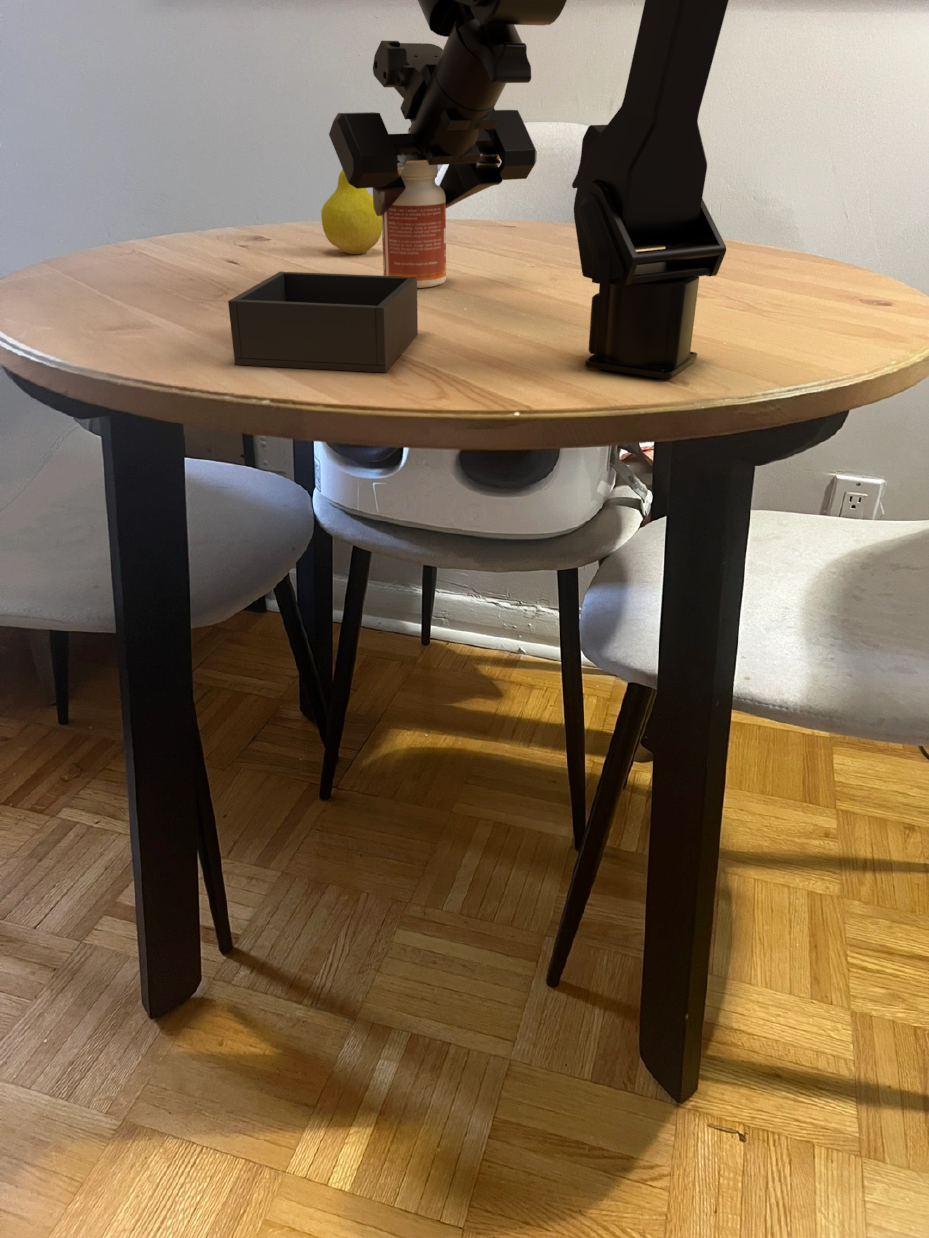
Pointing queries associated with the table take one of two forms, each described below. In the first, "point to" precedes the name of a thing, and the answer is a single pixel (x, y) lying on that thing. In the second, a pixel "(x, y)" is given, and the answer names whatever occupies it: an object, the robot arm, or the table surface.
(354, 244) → the fruit
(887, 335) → the table surface
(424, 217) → the pill bottle
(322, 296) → the black open box
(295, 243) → the table surface
